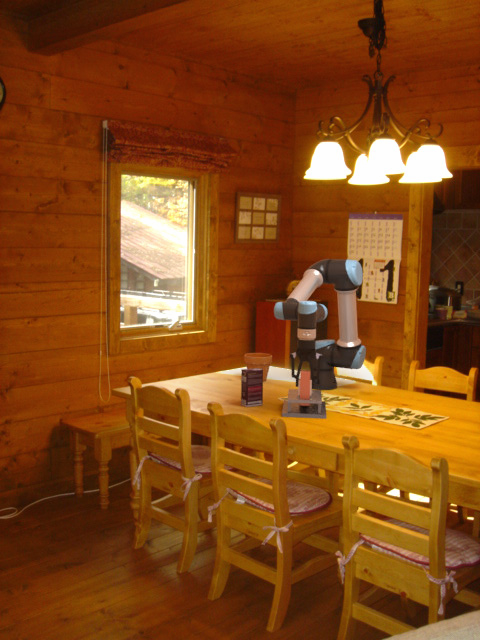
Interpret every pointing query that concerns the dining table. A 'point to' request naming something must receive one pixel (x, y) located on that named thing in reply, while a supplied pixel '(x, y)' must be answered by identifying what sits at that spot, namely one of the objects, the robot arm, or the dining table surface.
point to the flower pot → (258, 362)
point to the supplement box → (252, 387)
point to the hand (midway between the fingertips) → (304, 394)
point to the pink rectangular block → (305, 386)
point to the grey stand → (296, 410)
